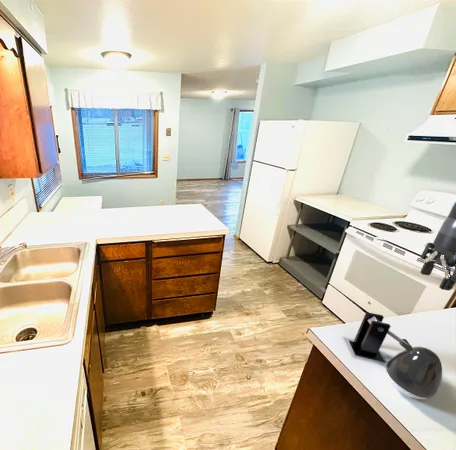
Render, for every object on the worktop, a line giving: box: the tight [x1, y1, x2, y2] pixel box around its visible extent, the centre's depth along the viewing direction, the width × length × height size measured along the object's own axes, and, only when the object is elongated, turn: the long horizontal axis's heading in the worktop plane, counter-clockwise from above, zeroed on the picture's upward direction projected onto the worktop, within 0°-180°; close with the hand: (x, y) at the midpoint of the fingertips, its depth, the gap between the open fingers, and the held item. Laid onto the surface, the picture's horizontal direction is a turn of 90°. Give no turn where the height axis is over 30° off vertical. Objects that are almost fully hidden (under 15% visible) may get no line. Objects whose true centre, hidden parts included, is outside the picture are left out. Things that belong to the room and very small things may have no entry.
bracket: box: [348, 311, 392, 364], centre depth 78 cm, size 8×8×14 cm
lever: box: [368, 316, 413, 348], centre depth 76 cm, size 14×5×2 cm
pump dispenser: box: [385, 341, 443, 400], centre depth 66 cm, size 10×10×15 cm
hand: (433, 281), depth 74 cm, fingers open, 8 cm apart
